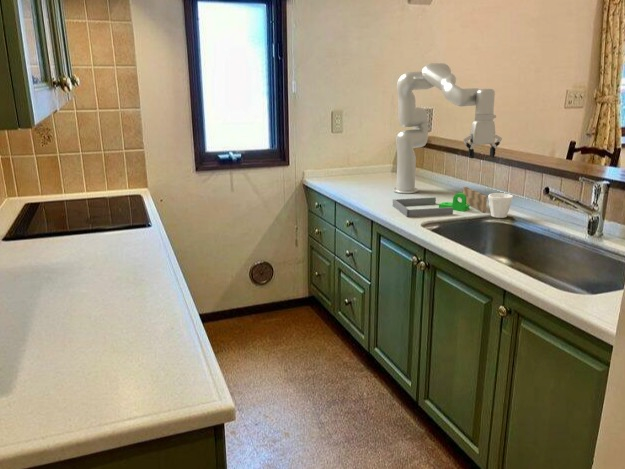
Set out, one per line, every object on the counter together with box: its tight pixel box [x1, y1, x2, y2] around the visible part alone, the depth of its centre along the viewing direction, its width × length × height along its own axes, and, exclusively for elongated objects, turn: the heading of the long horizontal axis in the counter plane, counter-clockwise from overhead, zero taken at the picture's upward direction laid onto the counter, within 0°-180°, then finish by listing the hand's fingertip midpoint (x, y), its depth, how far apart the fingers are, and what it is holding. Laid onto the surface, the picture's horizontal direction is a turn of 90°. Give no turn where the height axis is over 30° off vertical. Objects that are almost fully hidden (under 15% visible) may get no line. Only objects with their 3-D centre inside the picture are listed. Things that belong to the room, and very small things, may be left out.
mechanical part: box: [438, 192, 470, 212], centre depth 239 cm, size 12×6×8 cm, turn 53°
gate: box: [462, 186, 488, 213], centre depth 241 cm, size 21×2×7 cm, turn 9°
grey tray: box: [392, 196, 454, 218], centre depth 238 cm, size 21×21×3 cm
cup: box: [487, 192, 514, 219], centre depth 223 cm, size 10×10×9 cm
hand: (481, 157), depth 234 cm, fingers open, 9 cm apart
